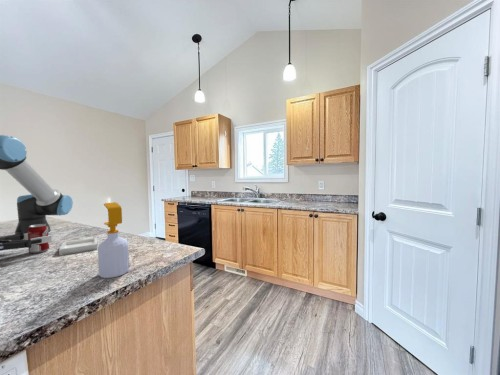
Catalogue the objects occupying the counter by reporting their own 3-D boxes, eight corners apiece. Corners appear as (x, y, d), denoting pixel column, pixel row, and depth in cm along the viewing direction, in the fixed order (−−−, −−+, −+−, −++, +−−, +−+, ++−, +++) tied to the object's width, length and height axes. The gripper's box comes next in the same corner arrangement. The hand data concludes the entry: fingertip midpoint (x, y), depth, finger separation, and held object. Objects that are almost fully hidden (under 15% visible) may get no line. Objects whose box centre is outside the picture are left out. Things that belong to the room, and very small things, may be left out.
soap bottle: (123, 265, 85) (120, 200, 84) (133, 271, 80) (131, 202, 78) (95, 273, 79) (92, 203, 77) (105, 281, 73) (101, 205, 71)
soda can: (39, 254, 98) (37, 227, 97) (24, 254, 98) (22, 227, 98) (53, 249, 105) (51, 223, 104) (39, 249, 105) (37, 223, 104)
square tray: (63, 247, 108) (63, 241, 107) (97, 242, 115) (97, 237, 115) (59, 255, 96) (59, 249, 96) (97, 249, 104) (97, 244, 104)
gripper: (-28, 251, 94) (40, 239, 111) (-23, 265, 79) (55, 249, 96) (-30, 233, 94) (39, 224, 111) (-25, 244, 79) (54, 232, 96)
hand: (47, 235), depth 103 cm, fingers open, 13 cm apart
